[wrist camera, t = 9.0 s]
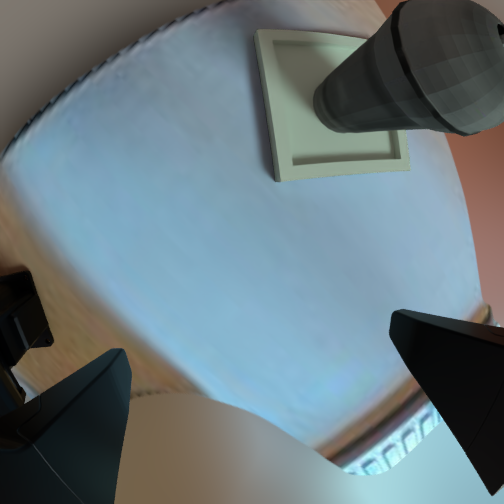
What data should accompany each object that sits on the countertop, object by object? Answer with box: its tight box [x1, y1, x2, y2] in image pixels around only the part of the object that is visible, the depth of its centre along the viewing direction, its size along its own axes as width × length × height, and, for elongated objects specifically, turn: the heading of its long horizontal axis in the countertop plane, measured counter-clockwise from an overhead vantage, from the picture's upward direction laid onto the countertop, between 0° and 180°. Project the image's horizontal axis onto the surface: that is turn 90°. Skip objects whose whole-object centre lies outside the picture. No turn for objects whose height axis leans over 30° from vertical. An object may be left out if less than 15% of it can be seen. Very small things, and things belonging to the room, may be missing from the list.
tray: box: [253, 29, 411, 182], centre depth 20 cm, size 12×12×1 cm
